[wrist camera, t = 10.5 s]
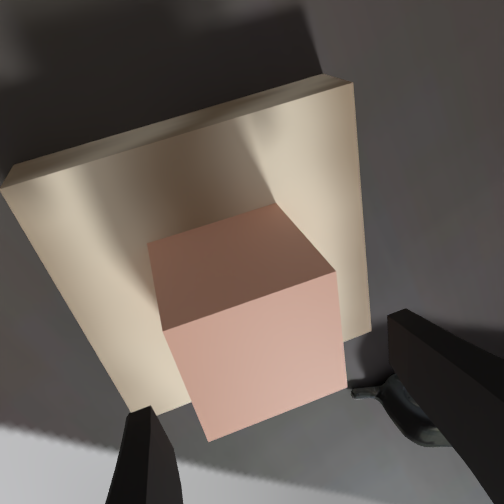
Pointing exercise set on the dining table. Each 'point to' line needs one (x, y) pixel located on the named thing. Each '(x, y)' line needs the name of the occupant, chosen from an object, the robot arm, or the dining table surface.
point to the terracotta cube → (249, 318)
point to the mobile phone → (404, 412)
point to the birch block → (191, 213)
